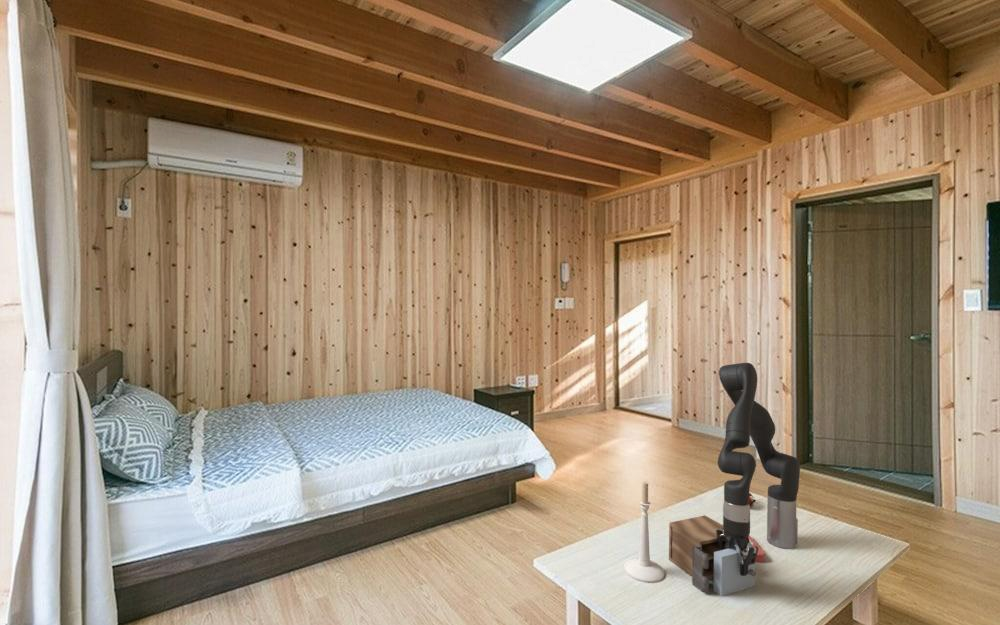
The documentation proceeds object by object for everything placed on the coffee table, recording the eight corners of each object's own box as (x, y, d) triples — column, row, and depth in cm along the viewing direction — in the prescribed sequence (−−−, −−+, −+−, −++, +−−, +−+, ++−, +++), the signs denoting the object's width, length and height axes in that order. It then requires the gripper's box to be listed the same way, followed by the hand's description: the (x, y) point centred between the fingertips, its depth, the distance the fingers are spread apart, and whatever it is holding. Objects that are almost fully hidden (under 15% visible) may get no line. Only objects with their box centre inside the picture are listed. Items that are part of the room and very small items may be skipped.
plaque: (704, 526, 179) (745, 528, 177) (704, 536, 179) (745, 538, 177) (721, 550, 161) (766, 553, 160) (721, 561, 161) (766, 564, 160)
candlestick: (672, 580, 149) (673, 487, 149) (634, 584, 147) (635, 490, 146) (652, 559, 162) (653, 473, 161) (617, 562, 160) (618, 475, 159)
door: (713, 590, 144) (714, 552, 144) (746, 580, 149) (747, 543, 149) (724, 598, 140) (725, 559, 140) (758, 588, 146) (758, 550, 145)
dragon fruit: (733, 502, 212) (752, 518, 201) (721, 493, 210) (739, 508, 199) (744, 487, 212) (764, 502, 201) (732, 478, 210) (751, 492, 199)
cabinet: (704, 551, 167) (705, 515, 167) (752, 582, 149) (753, 541, 148) (660, 562, 160) (660, 524, 160) (704, 595, 141) (705, 553, 141)
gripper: (709, 508, 151) (709, 561, 150) (747, 527, 137) (747, 585, 137) (726, 505, 153) (726, 557, 153) (765, 523, 140) (765, 580, 140)
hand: (736, 570), depth 145 cm, fingers open, 4 cm apart
